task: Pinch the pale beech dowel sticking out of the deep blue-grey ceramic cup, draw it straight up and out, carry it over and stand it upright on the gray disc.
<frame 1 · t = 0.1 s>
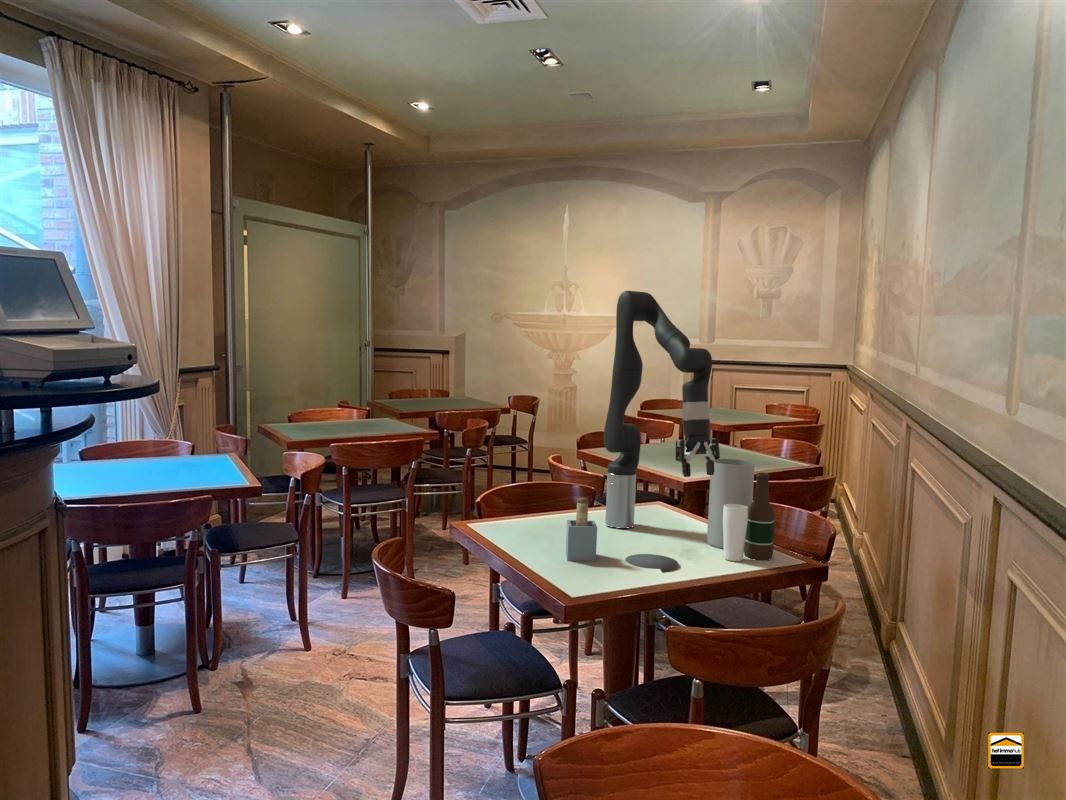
hand: (698, 475, 219), 22 cm above the table, tool pointing down, fingers open, 8 cm apart
gray disc: (651, 564, 209), on the table
deep cup: (580, 559, 211), on the table
cylinder vase: (728, 545, 233), on the table
beer bottle: (758, 558, 220), on the table
drinking glass: (732, 560, 217), on the table
beech dowel: (580, 557, 211), point 1 cm above the table, touching deep cup
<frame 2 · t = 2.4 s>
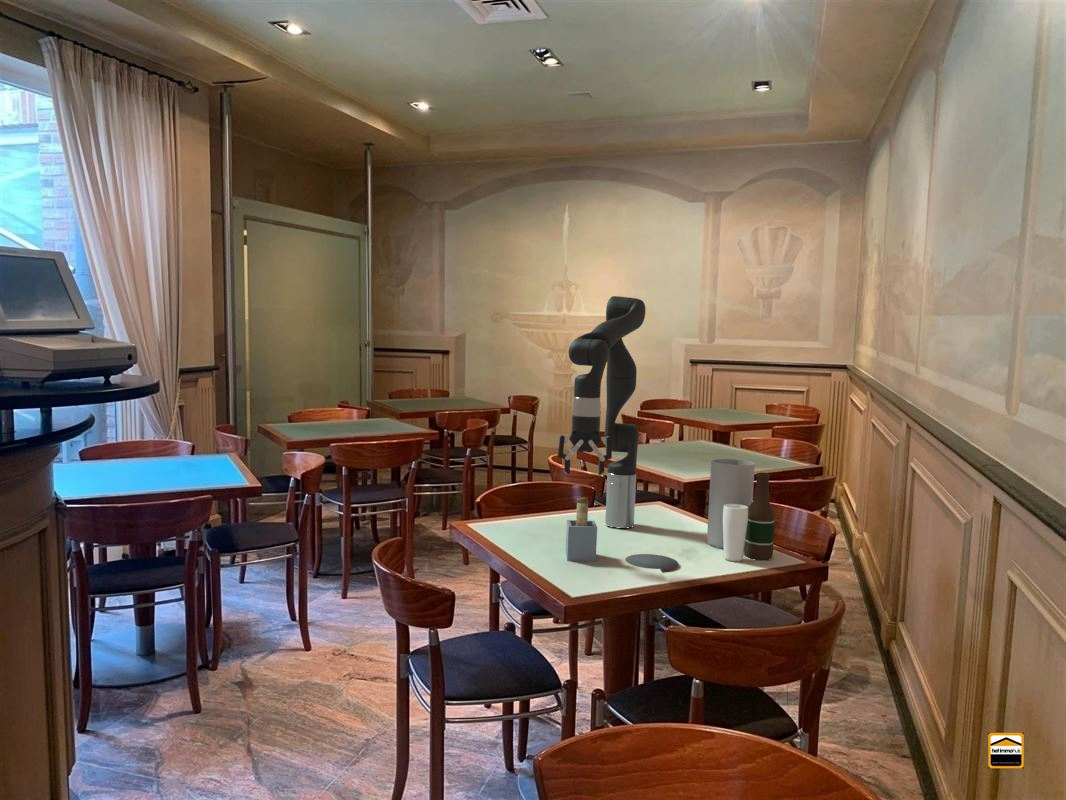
hand: (583, 474, 209), 23 cm above the table, tool pointing down, fingers open, 8 cm apart
nothing on the table moved.
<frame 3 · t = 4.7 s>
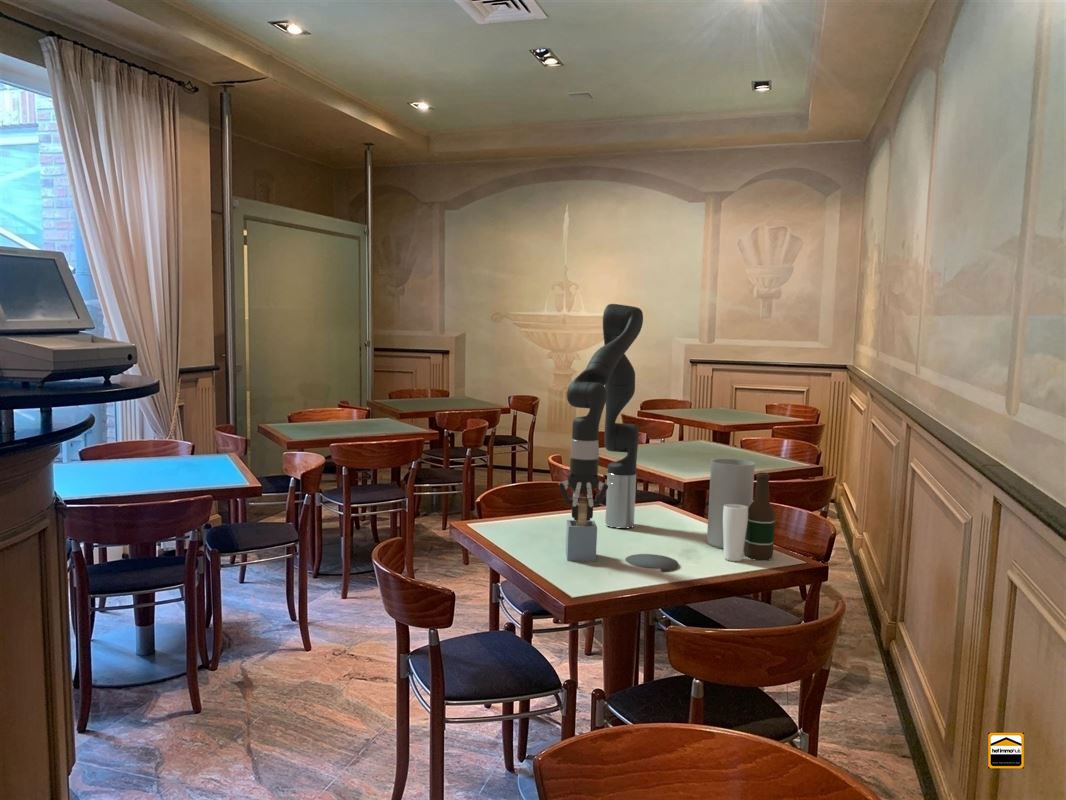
hand: (581, 519, 210), 11 cm above the table, tool pointing down, fingers closed on beech dowel, 3 cm apart
beech dowel: (580, 557, 211), point 1 cm above the table, touching deep cup, gripper
everything else where it was.
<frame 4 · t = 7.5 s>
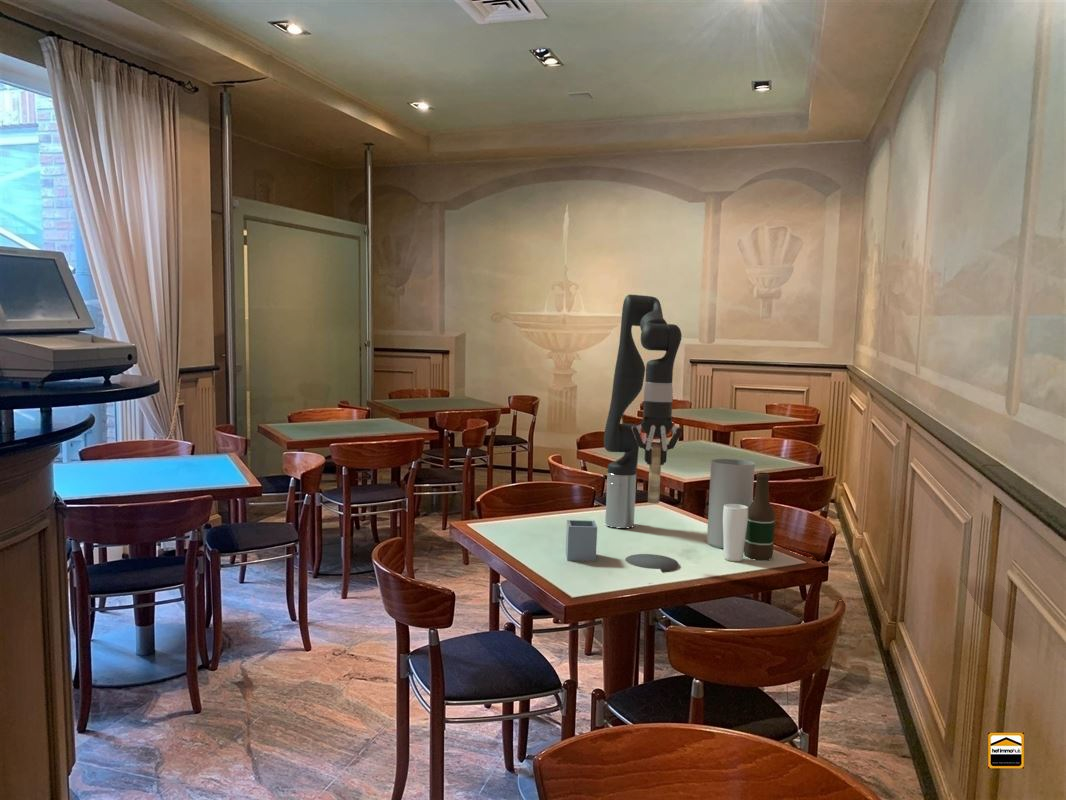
hand: (655, 464, 207), 27 cm above the table, tool pointing down, fingers closed on beech dowel, 3 cm apart
beech dowel: (653, 502, 208), point 17 cm above the table, touching gripper
everything else where it was.
when the fingers open (12 cm above the table, at t = 10.6 s): beech dowel stays where it is, resting on gray disc.
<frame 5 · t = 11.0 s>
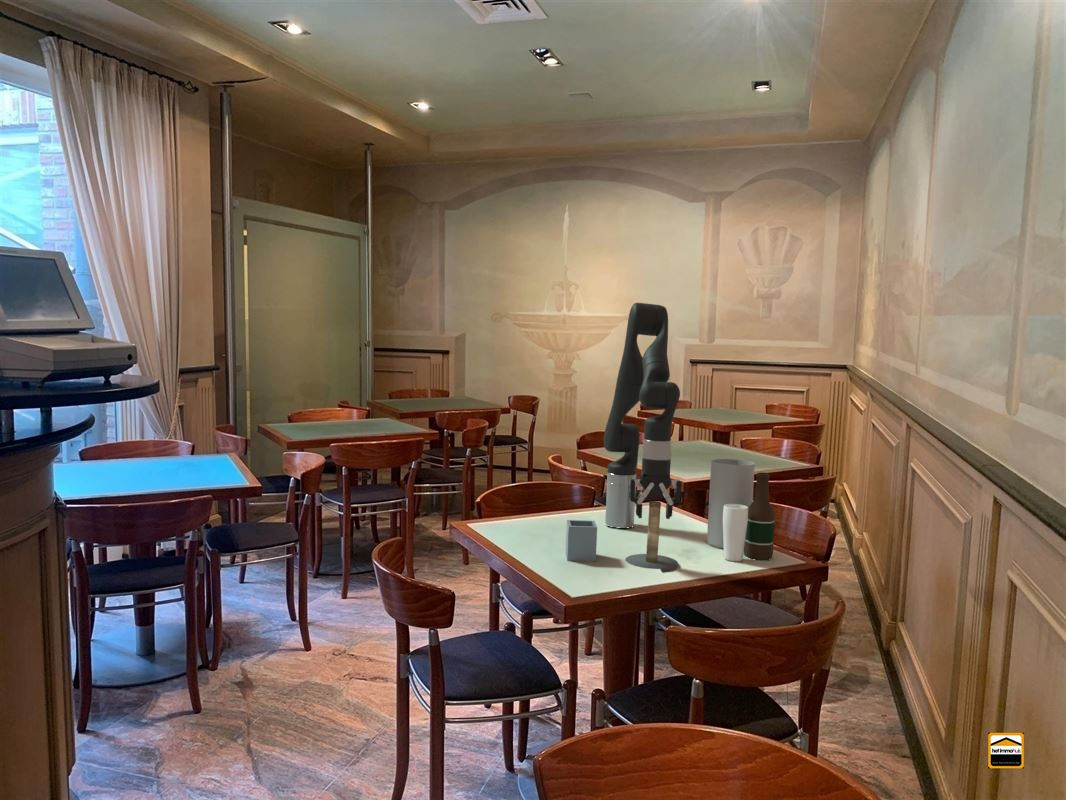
hand: (653, 517, 208), 13 cm above the table, tool pointing down, fingers open, 7 cm apart
beech dowel: (651, 561, 209), point 1 cm above the table, touching gray disc
everything else where it was.
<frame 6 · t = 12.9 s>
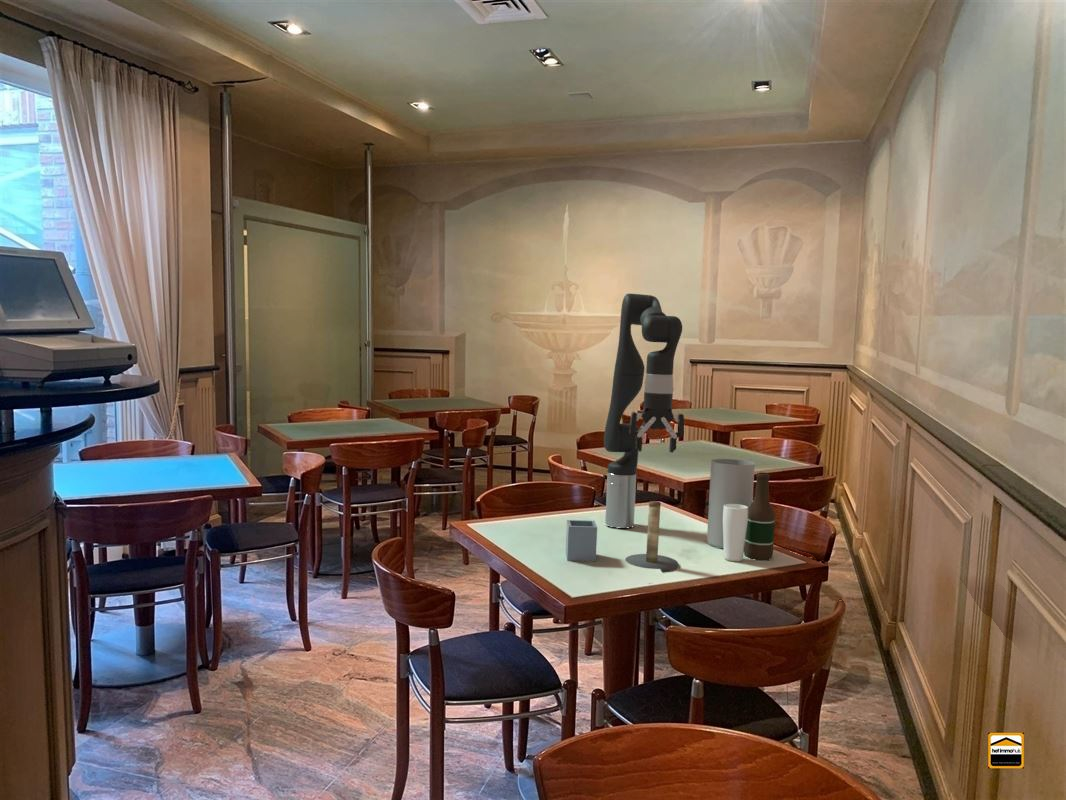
hand: (655, 451, 208), 30 cm above the table, tool pointing down, fingers open, 8 cm apart
nothing on the table moved.
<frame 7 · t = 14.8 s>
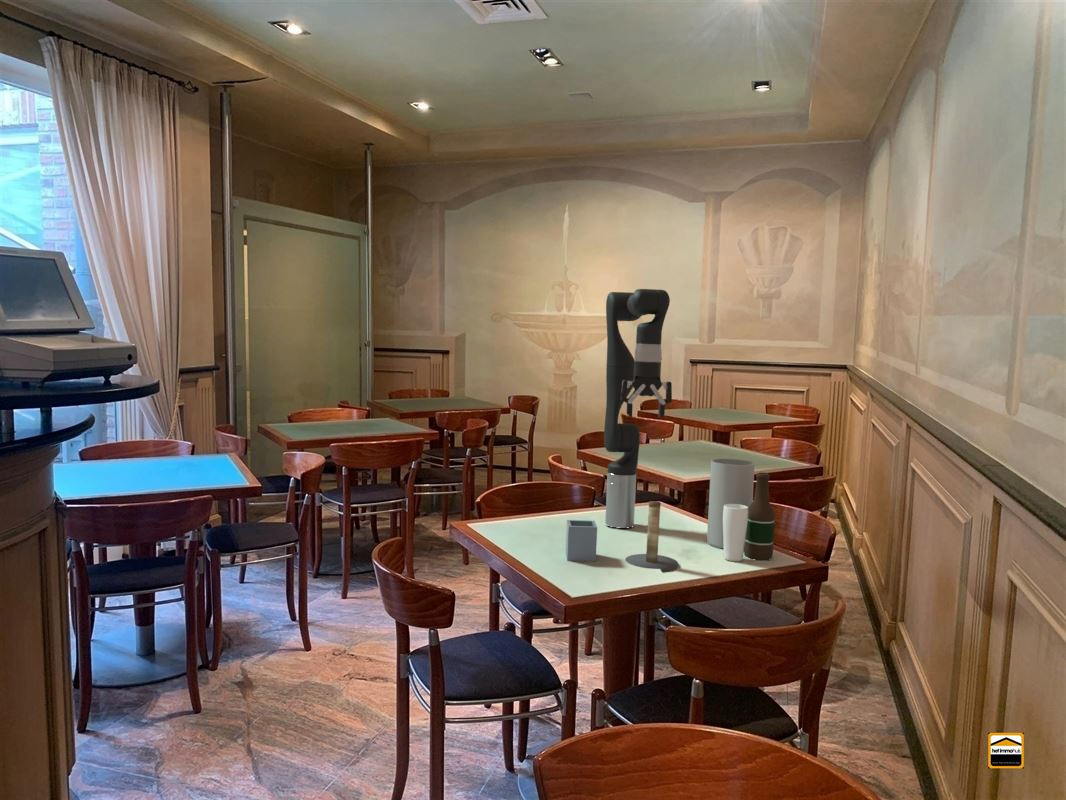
hand: (645, 417, 221), 38 cm above the table, tool pointing down, fingers open, 8 cm apart
nothing on the table moved.
at the end: beech dowel 0.1 cm from the gray disc (horizontally); beech dowel point 0.8 cm above the table; beech dowel tilted 0° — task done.
